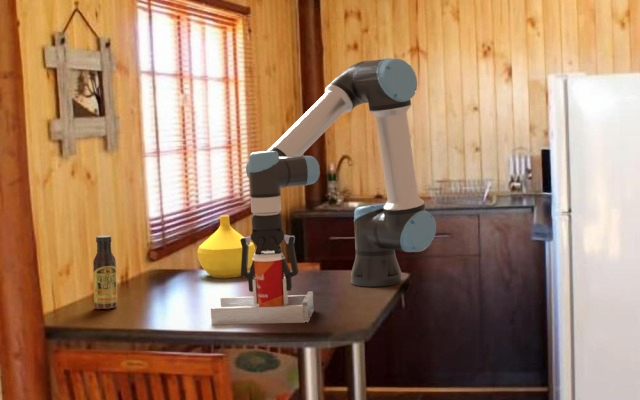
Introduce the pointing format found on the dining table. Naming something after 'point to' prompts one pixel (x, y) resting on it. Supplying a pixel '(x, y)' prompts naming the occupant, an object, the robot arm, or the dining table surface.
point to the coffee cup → (269, 278)
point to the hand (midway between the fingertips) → (271, 303)
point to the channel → (262, 311)
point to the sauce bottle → (104, 275)
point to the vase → (224, 252)
